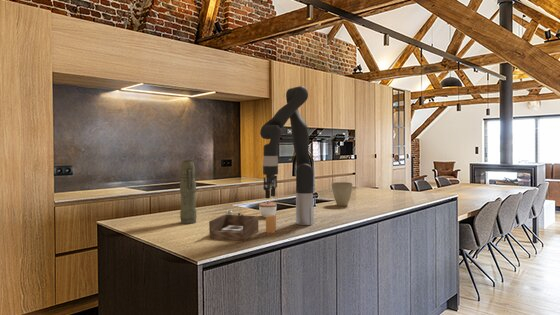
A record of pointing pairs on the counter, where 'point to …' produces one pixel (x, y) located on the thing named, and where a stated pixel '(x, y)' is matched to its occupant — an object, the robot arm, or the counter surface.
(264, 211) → the lidded jar
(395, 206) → the counter surface
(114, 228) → the counter surface
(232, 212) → the valve
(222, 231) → the inlet box
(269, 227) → the orange rectangular block
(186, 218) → the thermos
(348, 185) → the plant pot
